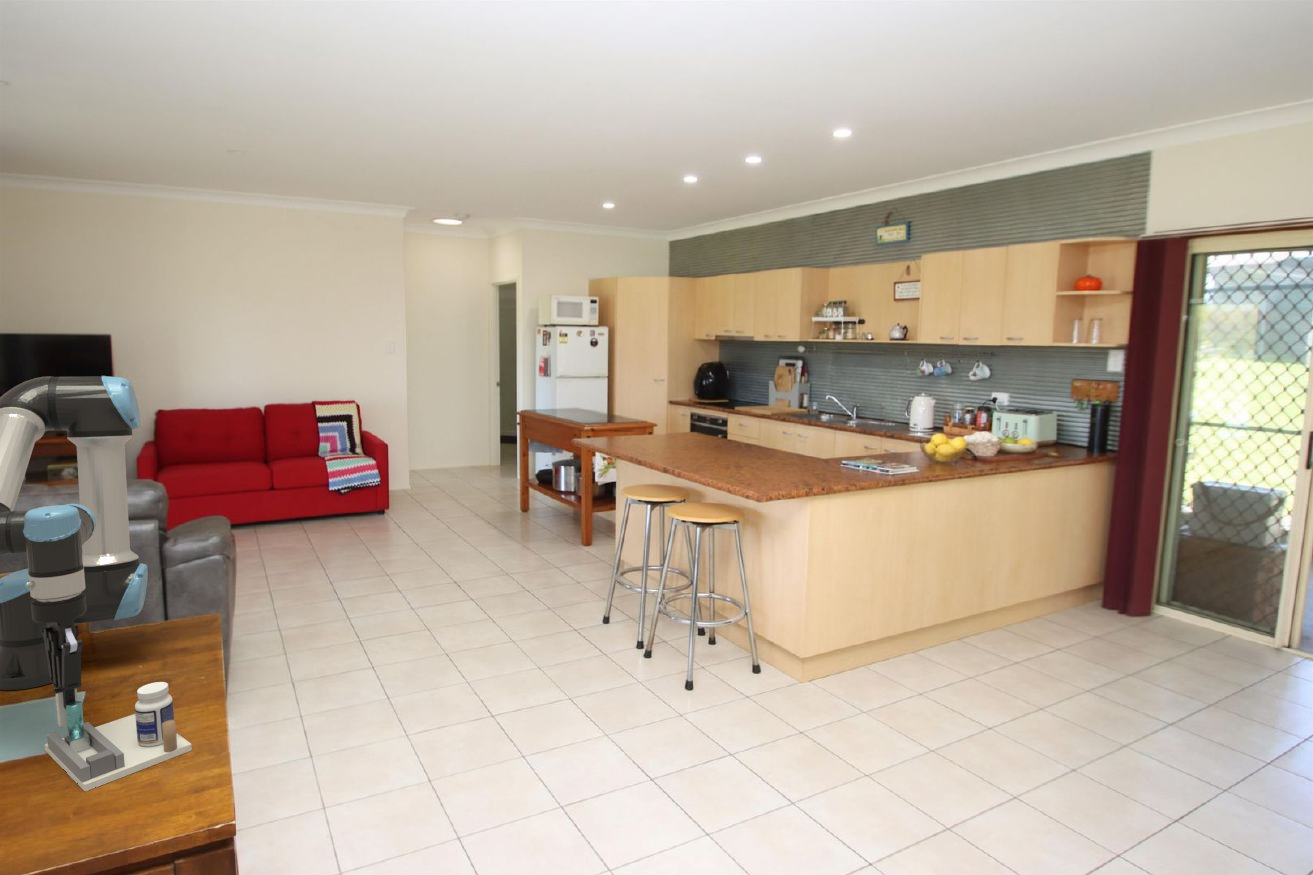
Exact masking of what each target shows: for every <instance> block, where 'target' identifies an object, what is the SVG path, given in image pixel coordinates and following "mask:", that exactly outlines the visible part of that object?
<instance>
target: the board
mask: <svg viewBox="0 0 1313 875" xmlns="http://www.w3.org/2000/svg"><path fill="white" fill-rule="evenodd" d="M162 731H163V744H160V745H156V746H149V747H147V746H141V745H140V744H139V743H138V740H137V728H136V716H135V713H133V714H130V715H128V716H124V717H122V718H119V719H115V720H113V721H110V722H106V723H104V724H100V725H98V726H95V727H94V726H93V724H91V723H90V722H88V721H85V722H84V732H86V733H87V734H88V735H89V741H90V749H87V750H84V751H81V752H79V753H76V752H75V751H74V750H73V749H72V748H71V747H70V746H69V745H68V744H67V743H66V742H65V740H64V737H61V736H60V735H59V734H58V733H57V732H52V733H50V734H46V737H47V742H46V743H44V751H45V752H46V753H47V754H48V755H49V756H50V757H51V758H52V759H53V760H54V761H55V762H56V764H57V765H59V767H60V768H61V769H62V770H63V769H64V770H65V771H66V772H67V773H66V772H65V771H64V770H63V771H64V772H65V773H66V774H67V775H68V776H69V777H70V778H71V779H72V780H73V781H74V783H76V784H77V783H78V784H77V786H79V787H80V788H81V789H82V790H83V791H84V792H88V791H91V790H93V789H96V788H99V787H101V786H103V785H106V784H108V783H111V782H114V781H116V780H119V779H122V778H123V777H127V776H130V775H131V774H134V773H137V772H140V771H143V770H145V769H147V768H149V767H152V766H154V765H157V764H160V763H162V762H165V761H168V760H172V759H173V758H176V757H178V756H180V755H183V754H185V753H188V752H191V751H193V750H192V749H193V747H192V743H191V742H189V741H188V740H187V739H186V738H184V737H183V736H181V734H178V732H177V723H176V720H175V719H174V720H168V721H165V722H163V723H162ZM95 787H96V788H95Z"/></svg>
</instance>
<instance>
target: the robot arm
mask: <svg viewBox="0 0 1313 875" xmlns="http://www.w3.org/2000/svg"><path fill="white" fill-rule="evenodd" d="M140 427H141V415H140V408H139V404H138V399H137V395H136V392H135V389H134V387H133V384H132V383H131V382H130V381H129V380H128V379H127V378H125V377H121V376H106V375H101V376H98V375H97V376H53V375H52V376H41V377H36V378H35V377H34V378H33V379H29V380H26V381H23V382H22V383H19V384H17V385H15V386H13V387H12V388H11V389H9V390H8V391H7V392H5V393H4V394H2V396H0V555H3V554H17V553H18V554H19V553H21V554H22V553H26V561H27V568H25V569H20V570H17V571H14V572H12V573H8V574H6V575H4V576H2V577H1V578H0V690H3V691H15V690H17V691H18V690H26V689H31V688H32V689H33V688H37V687H41V686H45V685H49V684H53V687H54V689H53V691H52V692H53V693H54V695H55V704H56V713H57V714H56V716H57V717H56V718H57V726H59V728H62V727H66V726H68V723H67V711H66V705H67V704H69V703H71V702H75V701H79V700H78V688H81V686H82V652H83V651H82V650H83V645H84V641H83V639H81V638H79V639H78V636H80V632H79V626H78V625H80V624H87V623H88V624H89V623H94V622H104V621H105V622H106V621H113V620H114V621H118V620H121V619H126V618H133V617H136V616H137V615H139V614H140V613H141V611H142V609H143V607H144V604H145V601H146V594H147V587H148V577H149V572H148V565H147V564H145V563H142V562H141V563H140V560H139V559H140V557H139V555H138V554H137V553H135V552H134V551H133V550H131V545H130V544H131V542H130V541H131V540H130V522H129V503H128V488H127V487H128V486H127V485H128V484H127V483H128V482H127V466H126V448H125V447H126V443H128V441H129V440H131V439H132V438H133V430H135V429H138V428H140ZM48 431H66V435H67V436H66V437H67V440H68V441H70V442H71V443H72V444H74V445H75V446H76V457H77V458H76V460H77V474H78V475H77V476H78V493H79V495H78V497H79V504H78V503H67V504H60V505H59V504H58V505H48V506H47V505H46V506H40V507H37V508H32V509H27V510H15V507H16V505H17V501H18V498H19V494H20V492H21V489H22V485H23V482H24V478H25V475H26V472H27V469H28V466H29V462H30V459H31V456H32V452H33V449H34V447H35V443H36V442H37V441H39V440H40V439H41V438H43V436H44V434H45V432H48Z"/></svg>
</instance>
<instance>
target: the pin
mask: <svg viewBox="0 0 1313 875" xmlns="http://www.w3.org/2000/svg"><path fill="white" fill-rule="evenodd" d="M83 709H84V708H83V702H82V701H81V700H78V701H75V702H71V703H69V704H67V705H66V711H67V723H68V725H67V732H68V735H65V736H64V737H63V738H64V740H65V742H66V743H67V744H68V745H69V746H70V747H71V748H72V749H73V750H74V751H75V752H76V753H79V752H81V751H84V750H87V749H90V741H89V735H88V734H87V733H86V732H84V723H85V722H84V711H83Z"/></svg>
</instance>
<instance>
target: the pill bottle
mask: <svg viewBox="0 0 1313 875" xmlns="http://www.w3.org/2000/svg"><path fill="white" fill-rule="evenodd" d="M169 691H170V690H169V683H167V682H165V681H156V682H151V683H150V682H149V683H148V684H144V685H142V686H140V687H139V688H138V689H137V691H136V694H137V699H138V700H137V701H136V703H135V705H134V714H135V716H136V728H137V740H138V743H139V744H140V745H141V746H147V747H149V746H156V745H160V744H163V731H162V723H163V722H165V721H168V720H175V714H174V712H175V711H174V701H173V700H174V699H173V697H172V696H171V694H169V693H168V692H169Z"/></svg>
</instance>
